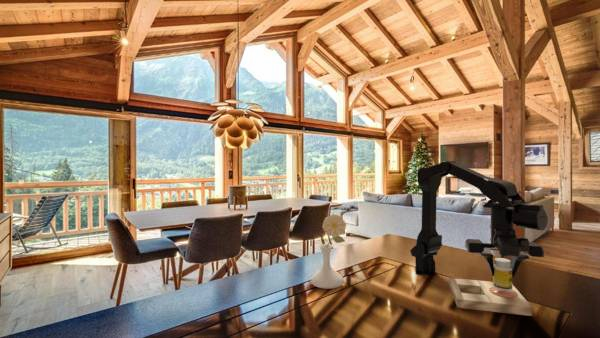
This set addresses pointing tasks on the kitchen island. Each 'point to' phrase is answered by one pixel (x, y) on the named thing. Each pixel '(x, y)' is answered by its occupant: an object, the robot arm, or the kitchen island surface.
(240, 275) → the kitchen island surface
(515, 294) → the coaster
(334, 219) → the flower in vase
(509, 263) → the supplement bottle
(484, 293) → the pocket board
